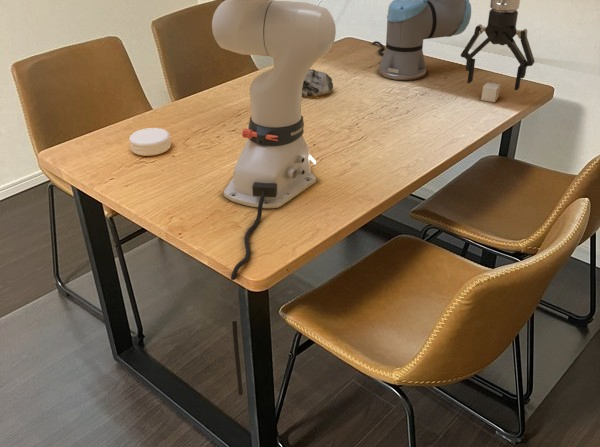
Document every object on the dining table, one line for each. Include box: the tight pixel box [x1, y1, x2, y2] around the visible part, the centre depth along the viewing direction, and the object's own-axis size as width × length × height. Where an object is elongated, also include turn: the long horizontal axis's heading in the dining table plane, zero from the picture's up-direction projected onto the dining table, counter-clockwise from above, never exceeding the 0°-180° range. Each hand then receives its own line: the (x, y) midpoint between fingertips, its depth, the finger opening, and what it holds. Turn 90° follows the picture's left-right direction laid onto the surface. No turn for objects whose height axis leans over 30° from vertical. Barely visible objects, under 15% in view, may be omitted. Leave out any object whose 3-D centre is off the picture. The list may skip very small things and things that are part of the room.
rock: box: [302, 68, 334, 97], centre depth 188 cm, size 15×10×7 cm
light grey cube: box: [480, 81, 502, 103], centre depth 182 cm, size 4×4×4 cm
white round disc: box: [128, 127, 172, 157], centre depth 156 cm, size 10×10×4 cm
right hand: (493, 85), depth 180 cm, fingers open, 13 cm apart
